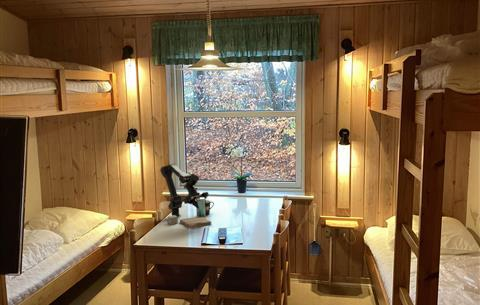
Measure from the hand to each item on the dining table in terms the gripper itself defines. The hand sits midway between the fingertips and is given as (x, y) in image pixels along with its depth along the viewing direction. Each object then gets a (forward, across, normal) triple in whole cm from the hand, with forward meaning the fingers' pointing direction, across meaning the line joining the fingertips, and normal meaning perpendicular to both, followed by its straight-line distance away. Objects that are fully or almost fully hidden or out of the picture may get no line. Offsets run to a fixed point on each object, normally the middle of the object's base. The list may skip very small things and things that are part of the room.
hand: (201, 207), depth 312 cm
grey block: (-5, +12, -23) cm, 26 cm away
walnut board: (+4, +1, -14) cm, 14 cm away
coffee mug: (-5, -19, -23) cm, 30 cm away
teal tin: (+4, 0, -6) cm, 7 cm away
